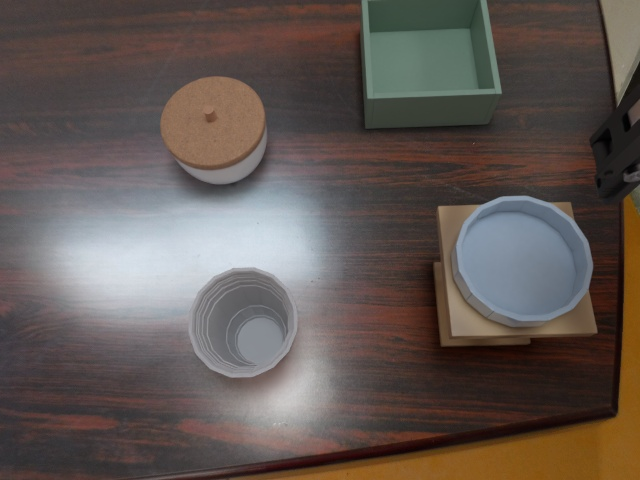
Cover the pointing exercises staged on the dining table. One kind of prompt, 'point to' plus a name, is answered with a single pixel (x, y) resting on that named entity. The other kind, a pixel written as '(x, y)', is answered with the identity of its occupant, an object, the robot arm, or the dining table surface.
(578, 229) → the light blue shallow dish
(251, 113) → the lidded bowl
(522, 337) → the stand
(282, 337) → the plastic cup
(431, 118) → the tub
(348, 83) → the dining table surface
